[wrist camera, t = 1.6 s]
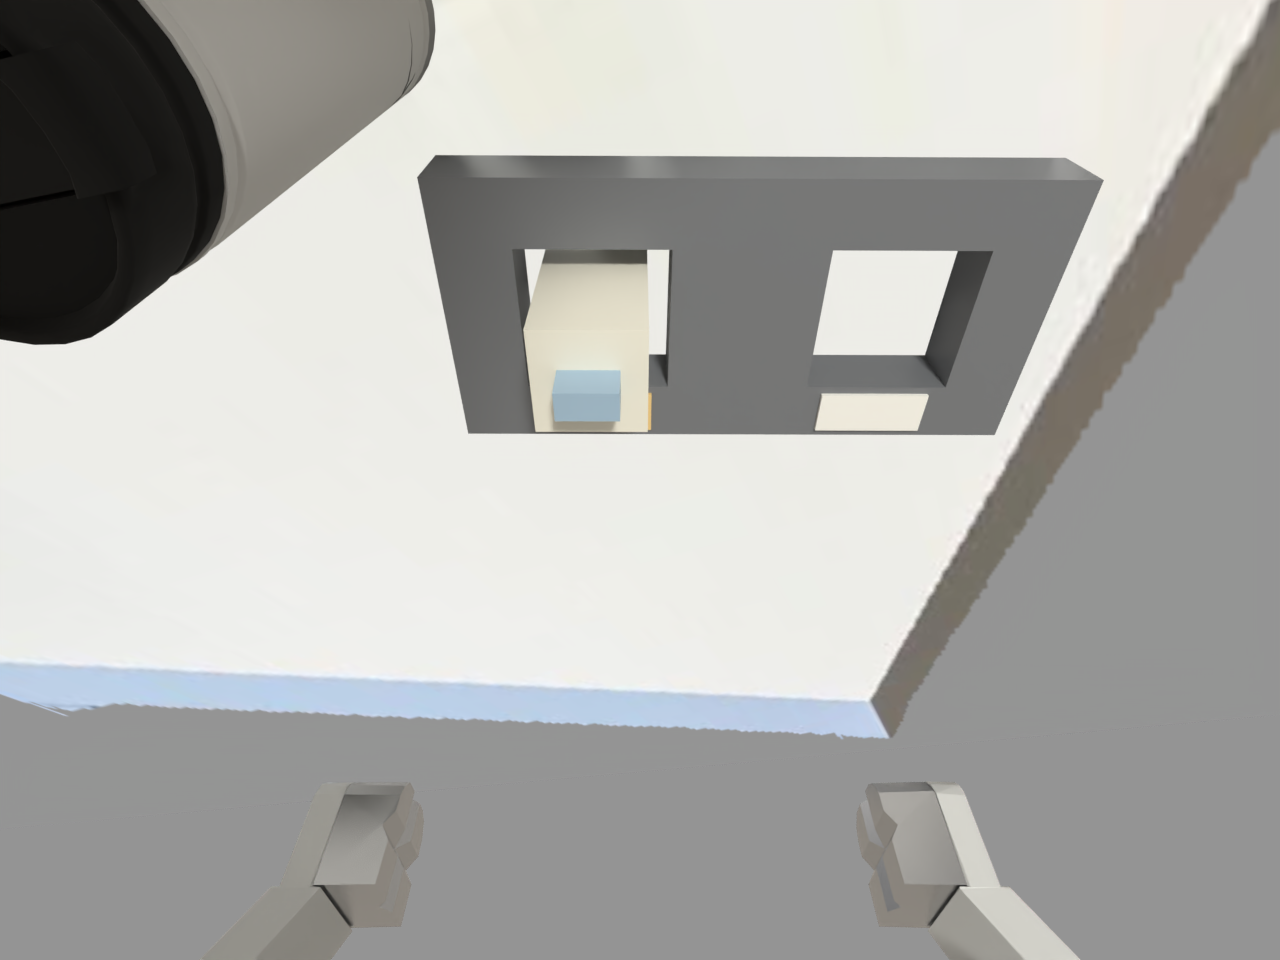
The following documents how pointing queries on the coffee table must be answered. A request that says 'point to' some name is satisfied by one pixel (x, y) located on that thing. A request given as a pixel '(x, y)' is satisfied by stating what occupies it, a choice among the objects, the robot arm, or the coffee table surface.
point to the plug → (589, 341)
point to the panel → (762, 279)
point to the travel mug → (170, 134)
